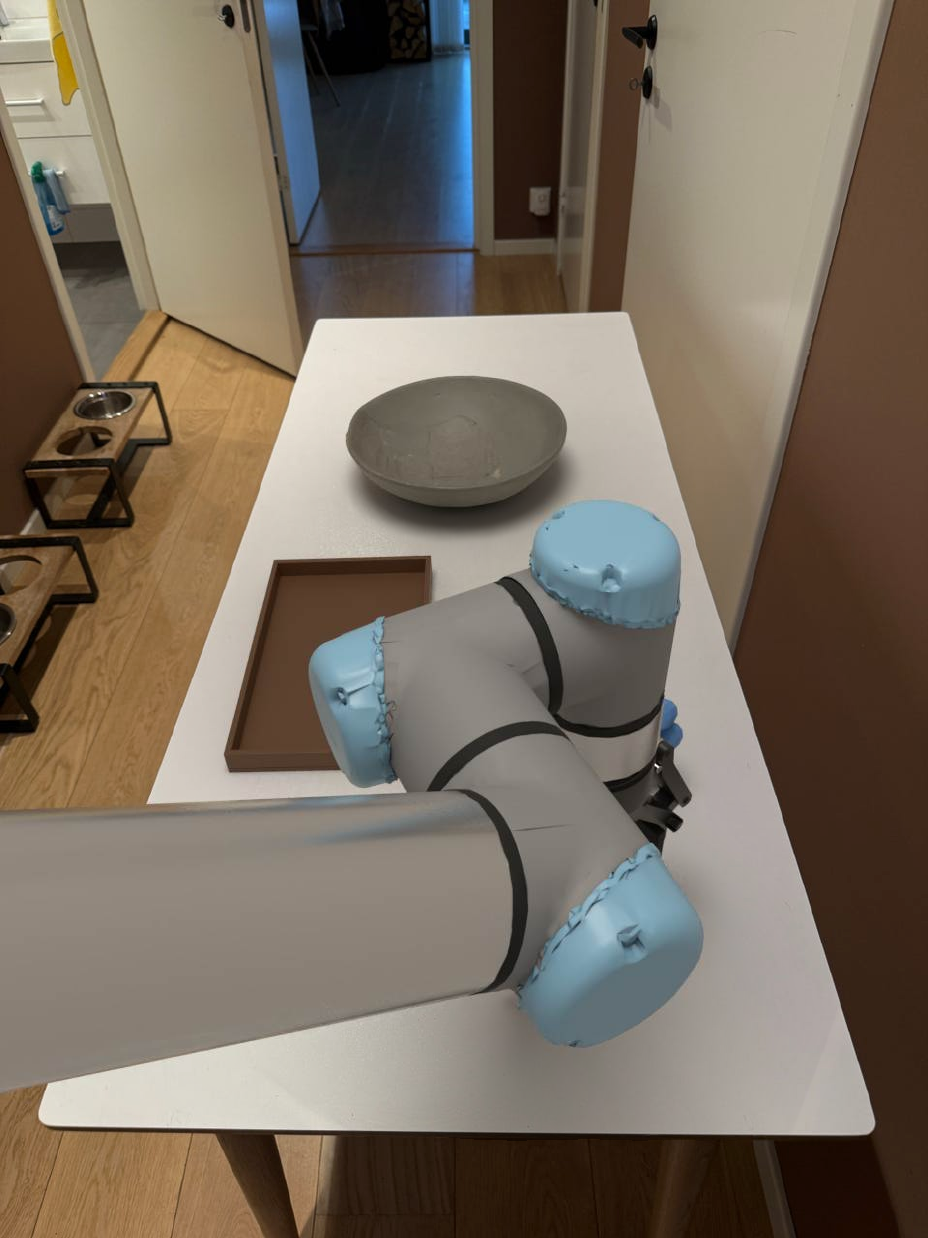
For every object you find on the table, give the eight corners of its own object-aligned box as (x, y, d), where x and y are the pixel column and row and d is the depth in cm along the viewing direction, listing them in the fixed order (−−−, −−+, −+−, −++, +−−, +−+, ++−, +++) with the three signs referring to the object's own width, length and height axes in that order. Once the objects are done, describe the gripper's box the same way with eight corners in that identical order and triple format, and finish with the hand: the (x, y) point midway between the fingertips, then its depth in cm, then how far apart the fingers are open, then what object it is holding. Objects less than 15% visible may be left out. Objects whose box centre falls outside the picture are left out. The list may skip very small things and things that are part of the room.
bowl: (406, 415, 136) (401, 362, 130) (589, 447, 127) (593, 392, 122) (314, 516, 117) (304, 459, 112) (521, 562, 108) (522, 503, 103)
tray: (423, 768, 86) (421, 750, 84) (228, 772, 86) (223, 754, 85) (432, 572, 108) (431, 555, 106) (277, 576, 108) (273, 559, 106)
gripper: (680, 614, 64) (652, 803, 78) (391, 814, 52) (420, 994, 66) (772, 670, 59) (725, 860, 73) (478, 903, 48) (489, 1076, 62)
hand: (580, 924), depth 70 cm, fingers open, 13 cm apart
